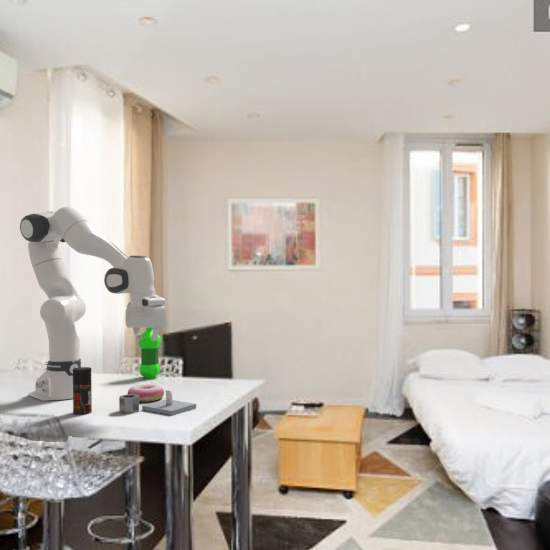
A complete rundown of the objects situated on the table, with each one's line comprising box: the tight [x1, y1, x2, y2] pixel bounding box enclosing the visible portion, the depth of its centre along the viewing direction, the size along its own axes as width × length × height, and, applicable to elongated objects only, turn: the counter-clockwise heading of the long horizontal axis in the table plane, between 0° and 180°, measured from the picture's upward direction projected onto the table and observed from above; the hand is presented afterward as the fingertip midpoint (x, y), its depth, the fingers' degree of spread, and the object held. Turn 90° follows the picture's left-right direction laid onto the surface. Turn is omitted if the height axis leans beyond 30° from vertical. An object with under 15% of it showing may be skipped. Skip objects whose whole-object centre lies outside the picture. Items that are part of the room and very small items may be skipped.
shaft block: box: [141, 389, 197, 416], centre depth 190 cm, size 14×12×6 cm
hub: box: [118, 394, 140, 414], centre depth 188 cm, size 6×6×5 cm
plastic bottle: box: [137, 328, 162, 380], centre depth 252 cm, size 10×10×25 cm
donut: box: [127, 383, 165, 403], centre depth 206 cm, size 14×13×5 cm
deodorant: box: [72, 366, 93, 416], centre depth 186 cm, size 6×6×15 cm
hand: (146, 340), depth 192 cm, fingers open, 8 cm apart
